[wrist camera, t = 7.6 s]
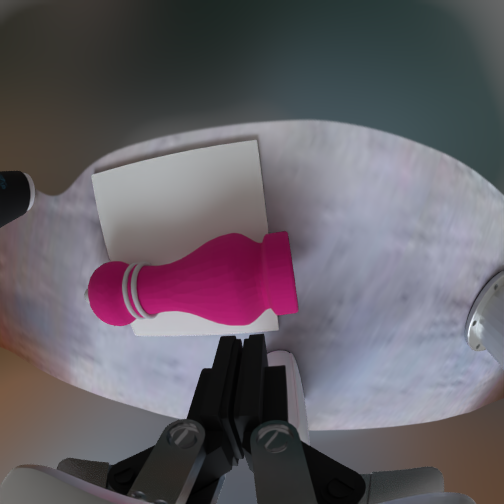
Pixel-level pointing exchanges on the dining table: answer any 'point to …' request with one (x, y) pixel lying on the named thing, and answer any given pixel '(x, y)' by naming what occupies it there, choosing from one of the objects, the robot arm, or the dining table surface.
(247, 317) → the pepper mill
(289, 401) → the photo printer
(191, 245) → the mat
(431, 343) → the dining table surface
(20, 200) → the dixie cup
